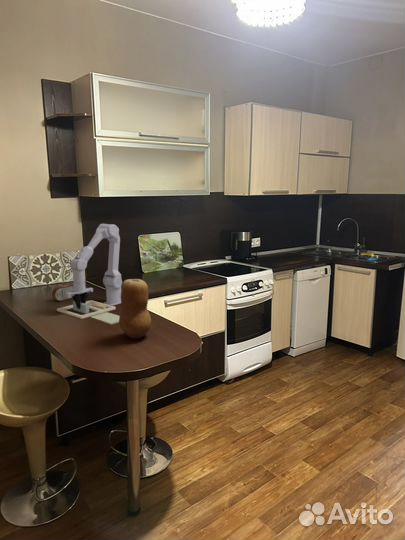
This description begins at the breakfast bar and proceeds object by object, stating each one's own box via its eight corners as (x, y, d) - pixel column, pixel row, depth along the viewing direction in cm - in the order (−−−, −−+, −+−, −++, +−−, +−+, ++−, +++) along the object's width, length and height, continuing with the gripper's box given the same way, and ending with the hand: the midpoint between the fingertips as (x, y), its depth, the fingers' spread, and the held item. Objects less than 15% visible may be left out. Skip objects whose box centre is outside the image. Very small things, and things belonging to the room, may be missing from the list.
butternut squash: (158, 336, 170) (156, 279, 165) (133, 345, 160) (131, 285, 156) (137, 329, 179) (135, 275, 174) (112, 337, 169) (110, 280, 165)
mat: (106, 313, 203) (106, 312, 203) (127, 319, 193) (127, 318, 193) (90, 317, 195) (90, 316, 195) (111, 324, 186) (111, 323, 186)
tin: (75, 296, 236) (74, 282, 234) (78, 297, 234) (77, 283, 232) (52, 301, 224) (51, 287, 223) (55, 302, 222) (54, 288, 221)
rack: (91, 302, 222) (91, 300, 222) (115, 309, 209) (115, 306, 209) (57, 311, 206) (56, 308, 206) (81, 319, 193) (81, 316, 193)
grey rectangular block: (76, 309, 209) (76, 300, 208) (89, 312, 202) (88, 304, 202) (73, 309, 208) (72, 301, 207) (85, 313, 201) (85, 305, 200)
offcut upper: (94, 304, 217) (94, 302, 216) (105, 308, 210) (105, 306, 210) (88, 306, 214) (88, 303, 214) (99, 309, 208) (99, 307, 207)
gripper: (86, 278, 210) (88, 303, 213) (62, 283, 199) (63, 309, 202) (94, 280, 206) (96, 305, 208) (70, 285, 195) (72, 312, 197)
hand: (80, 307), depth 205 cm, fingers closed on grey rectangular block, 2 cm apart
